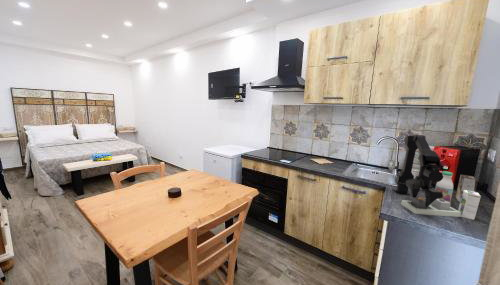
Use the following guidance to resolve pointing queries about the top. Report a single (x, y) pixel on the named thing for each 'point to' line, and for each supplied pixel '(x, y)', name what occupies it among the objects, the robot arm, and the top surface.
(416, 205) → the plug block
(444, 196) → the milk bottle
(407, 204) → the socket strip
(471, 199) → the syrup box
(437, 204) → the twin plug block
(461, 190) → the coffee box
